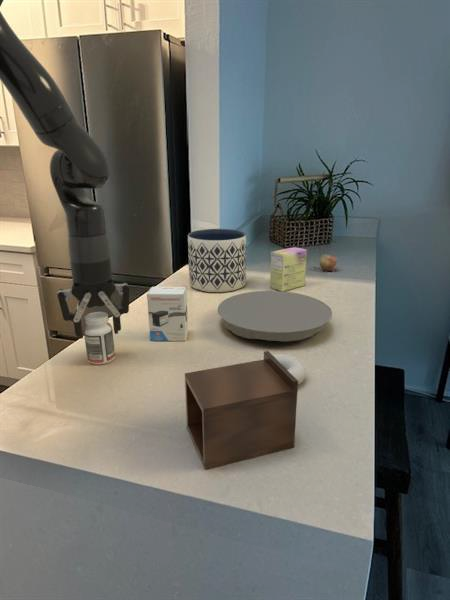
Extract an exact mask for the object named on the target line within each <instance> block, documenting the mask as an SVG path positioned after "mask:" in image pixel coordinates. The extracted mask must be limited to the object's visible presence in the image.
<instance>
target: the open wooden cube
mask: <svg viewBox="0 0 450 600" xmlns="http://www.w3.org/2000/svg"><path fill="white" fill-rule="evenodd" d="M263 357H264V359H263V360H259V359H257V360H252V361H248V362H242V363H241V362H240V363H235V364H229V365H224V366H219V367H212V368H206V369H201V370H196V371H190V372H185V373H184V391H185V415H186V416H185V418H186V430H187V431H188V434H189V436H190V438H191V441H192V443H193V445H194V447H195V450H196V452H197V454H198V456H199V457H198V458H199V459H200V461H201V463H202V466H203V468H204V470H209V469H213V468H217V467H221V466H225V465H228V464H229V465H230V464H233V463H237V462H240V461H244V460H248V459H252V458H253V459H254V458H256V457H261V456H264V455H268V454H273V453H276V452H280V451H281V452H282V451H284V450H288V449H292V448H294V447H295V439H296V421H297V420H296V419H297V406H298V405H297V404H298V390H299V384H298V380H297V379H296V378H295V377H294V376H293V375H292V374H291V373H290V372H289V371H288V370H287V369H286V368H285V367H284V366H283V365H282V364H281V363H280V362H279V361H278V360H277V359H276V358H275V357H274V356H273V355H272V353H271V352H270V351H269V350H265V351H263Z"/></svg>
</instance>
